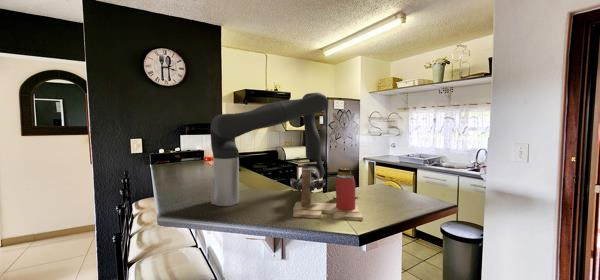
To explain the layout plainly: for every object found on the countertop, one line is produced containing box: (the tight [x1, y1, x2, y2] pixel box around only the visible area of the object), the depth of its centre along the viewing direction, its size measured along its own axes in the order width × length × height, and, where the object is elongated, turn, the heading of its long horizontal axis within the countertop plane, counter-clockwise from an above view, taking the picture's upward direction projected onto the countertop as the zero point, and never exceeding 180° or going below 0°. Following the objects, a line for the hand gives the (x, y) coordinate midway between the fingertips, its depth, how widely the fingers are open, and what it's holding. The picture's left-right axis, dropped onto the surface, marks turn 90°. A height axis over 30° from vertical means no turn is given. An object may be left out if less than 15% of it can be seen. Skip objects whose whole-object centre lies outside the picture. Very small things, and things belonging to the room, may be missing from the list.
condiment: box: [333, 167, 359, 199], centre depth 107 cm, size 7×8×12 cm
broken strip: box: [292, 210, 364, 221], centre depth 85 cm, size 22×4×1 cm, turn 83°
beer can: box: [335, 174, 356, 211], centre depth 91 cm, size 7×7×12 cm
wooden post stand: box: [292, 168, 360, 215], centre depth 92 cm, size 22×8×14 cm, turn 83°
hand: (305, 188), depth 89 cm, fingers open, 3 cm apart
